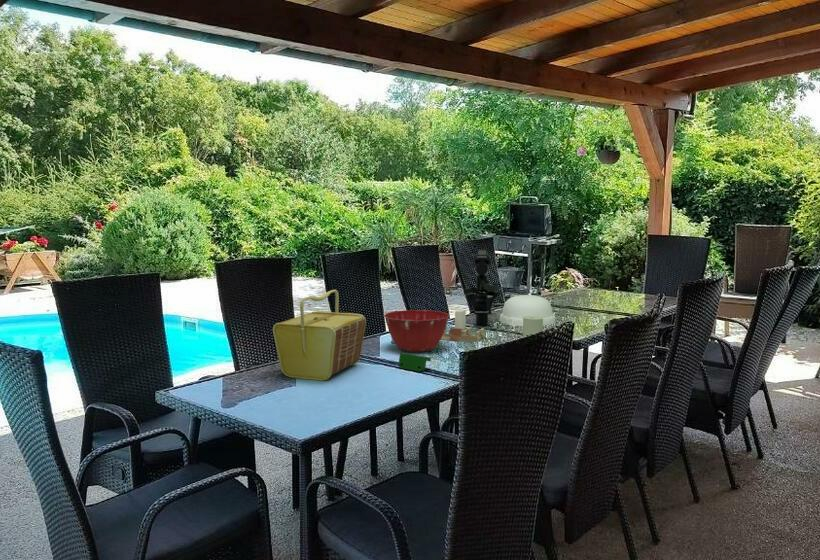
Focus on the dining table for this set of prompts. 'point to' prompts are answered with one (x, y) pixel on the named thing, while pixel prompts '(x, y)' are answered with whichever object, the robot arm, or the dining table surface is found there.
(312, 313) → the picnic basket
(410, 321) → the mixing bowl
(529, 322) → the can
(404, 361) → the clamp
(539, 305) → the dome cover
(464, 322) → the tall off-white box
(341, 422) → the dining table surface
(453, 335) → the rack
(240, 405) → the dining table surface
